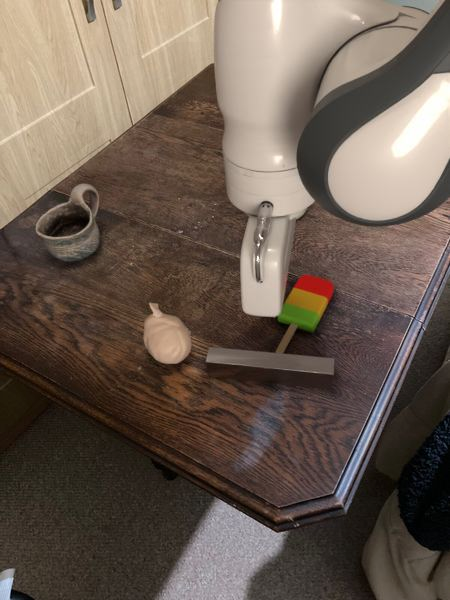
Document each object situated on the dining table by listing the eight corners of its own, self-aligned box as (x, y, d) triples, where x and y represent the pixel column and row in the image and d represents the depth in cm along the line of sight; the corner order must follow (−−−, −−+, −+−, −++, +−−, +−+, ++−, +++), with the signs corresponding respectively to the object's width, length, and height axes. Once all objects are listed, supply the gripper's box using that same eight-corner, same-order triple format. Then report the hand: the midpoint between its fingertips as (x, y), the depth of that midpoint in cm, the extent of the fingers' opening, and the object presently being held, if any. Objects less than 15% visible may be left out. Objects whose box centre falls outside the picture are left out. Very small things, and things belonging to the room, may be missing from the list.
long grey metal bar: (332, 374, 64) (334, 358, 61) (331, 390, 62) (333, 374, 59) (212, 362, 67) (209, 346, 64) (208, 377, 65) (205, 361, 63)
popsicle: (336, 290, 74) (336, 281, 72) (297, 365, 65) (297, 357, 64) (301, 280, 76) (301, 271, 74) (259, 352, 67) (258, 343, 66)
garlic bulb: (195, 333, 70) (186, 295, 65) (194, 370, 66) (185, 333, 60) (149, 337, 71) (136, 299, 65) (146, 374, 66) (132, 337, 61)
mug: (38, 264, 84) (14, 217, 77) (78, 220, 92) (60, 173, 84) (86, 275, 81) (66, 227, 74) (123, 228, 89) (108, 180, 81)
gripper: (297, 250, 38) (294, 358, 48) (315, 119, 51) (310, 225, 61) (216, 245, 39) (230, 351, 49) (255, 119, 52) (260, 222, 62)
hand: (275, 280), depth 55 cm, fingers open, 8 cm apart
